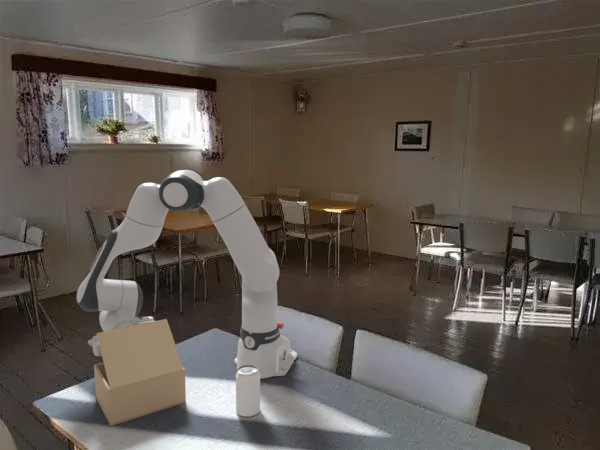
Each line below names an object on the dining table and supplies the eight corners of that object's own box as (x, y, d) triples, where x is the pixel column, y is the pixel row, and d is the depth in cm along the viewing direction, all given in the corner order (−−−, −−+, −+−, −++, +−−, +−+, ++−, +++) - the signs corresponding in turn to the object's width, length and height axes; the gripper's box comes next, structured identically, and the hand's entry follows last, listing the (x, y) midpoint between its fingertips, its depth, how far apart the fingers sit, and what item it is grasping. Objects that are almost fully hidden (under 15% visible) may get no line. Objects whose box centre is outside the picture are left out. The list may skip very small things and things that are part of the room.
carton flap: (96, 333, 126) (96, 333, 126) (166, 319, 137) (166, 318, 136) (110, 389, 118) (110, 388, 118) (183, 369, 129) (183, 369, 128)
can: (256, 419, 124) (256, 377, 122) (232, 416, 125) (232, 374, 123) (262, 406, 130) (263, 365, 128) (240, 402, 131) (240, 362, 129)
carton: (95, 397, 132) (93, 364, 131) (165, 378, 144) (164, 347, 142) (110, 426, 119) (108, 390, 118) (185, 402, 131) (184, 369, 129)
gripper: (85, 329, 134) (96, 347, 123) (157, 315, 146) (173, 330, 134) (87, 350, 135) (98, 369, 124) (158, 334, 147) (174, 351, 136)
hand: (138, 349), depth 129 cm, fingers closed
